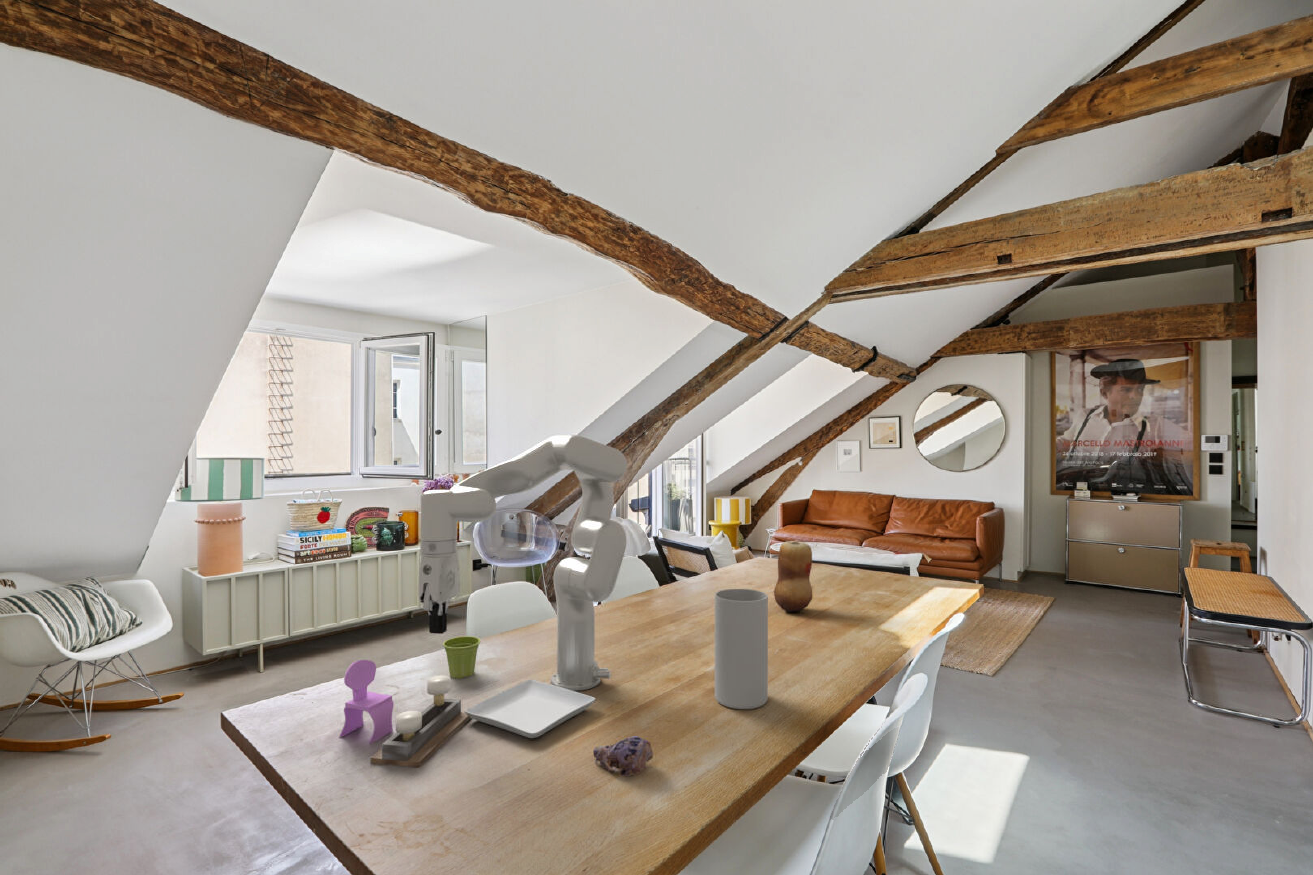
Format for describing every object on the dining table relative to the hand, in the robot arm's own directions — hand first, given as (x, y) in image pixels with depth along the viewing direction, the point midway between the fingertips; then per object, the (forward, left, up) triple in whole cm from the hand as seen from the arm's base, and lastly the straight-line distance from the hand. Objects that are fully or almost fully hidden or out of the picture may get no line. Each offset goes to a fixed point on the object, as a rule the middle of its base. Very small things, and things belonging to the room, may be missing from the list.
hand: (438, 632), depth 139 cm
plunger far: (0, 0, -16) cm, 16 cm away
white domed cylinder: (0, +12, -18) cm, 22 cm away
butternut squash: (-80, -107, -21) cm, 135 cm away
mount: (0, +6, -20) cm, 21 cm away
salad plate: (-18, -8, -21) cm, 29 cm away
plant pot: (+9, -29, -21) cm, 37 cm away
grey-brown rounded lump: (-43, +10, -21) cm, 49 cm away
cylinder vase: (-64, -25, -21) cm, 72 cm away
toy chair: (+13, +6, -21) cm, 25 cm away
